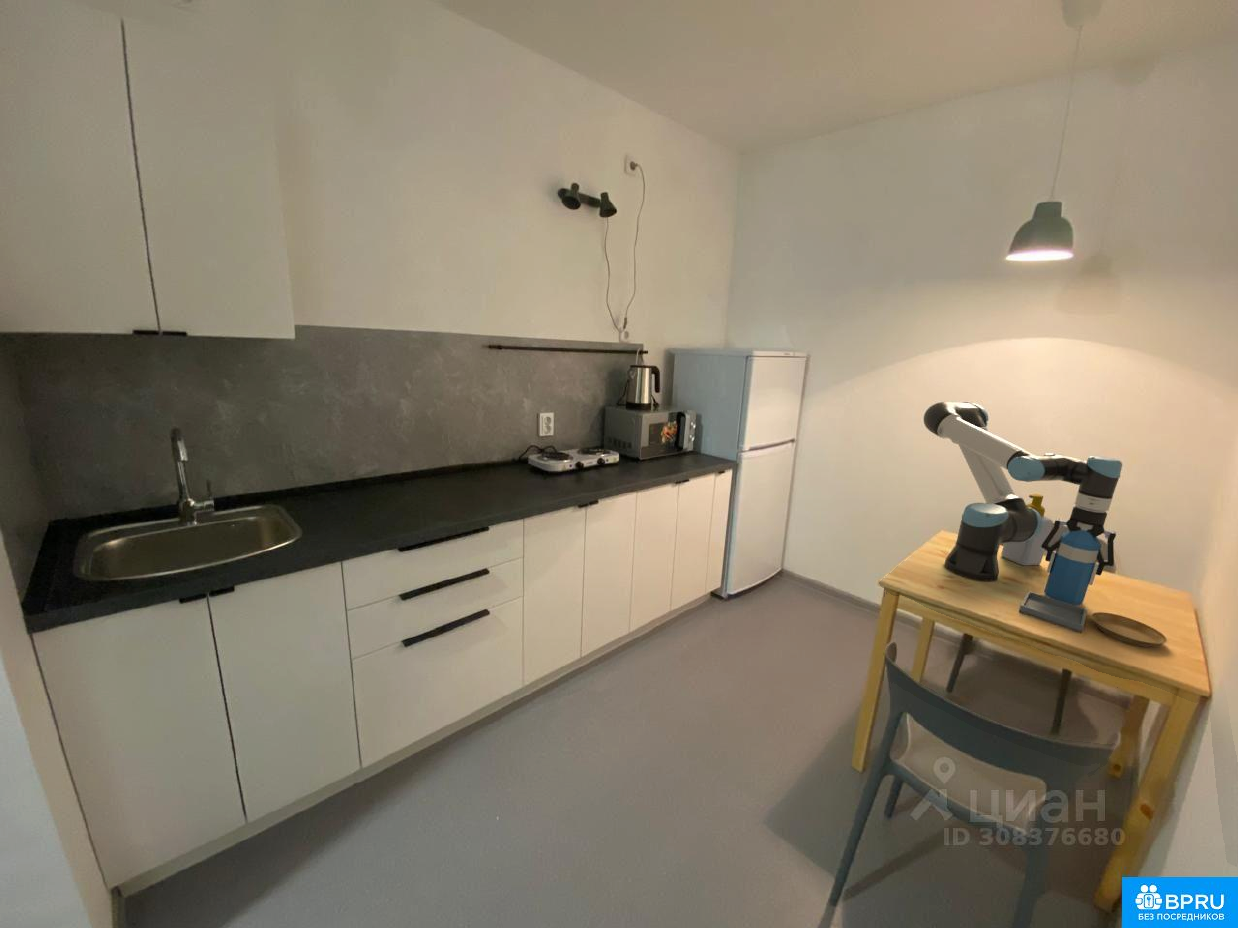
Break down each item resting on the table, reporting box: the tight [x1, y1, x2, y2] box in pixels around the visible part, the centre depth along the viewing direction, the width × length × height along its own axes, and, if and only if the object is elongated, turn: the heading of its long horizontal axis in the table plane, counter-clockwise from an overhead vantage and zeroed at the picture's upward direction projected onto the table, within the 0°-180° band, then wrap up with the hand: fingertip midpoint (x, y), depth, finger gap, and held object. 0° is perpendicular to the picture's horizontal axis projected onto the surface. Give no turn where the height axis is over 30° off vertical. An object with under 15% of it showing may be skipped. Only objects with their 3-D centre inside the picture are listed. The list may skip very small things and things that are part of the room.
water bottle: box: [1043, 522, 1102, 606], centre depth 151 cm, size 9×9×25 cm
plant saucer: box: [1090, 611, 1168, 648], centre depth 135 cm, size 15×15×3 cm
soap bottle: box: [1001, 493, 1054, 566], centre depth 178 cm, size 9×9×25 cm
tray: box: [1018, 590, 1088, 634], centre depth 144 cm, size 14×14×2 cm
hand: (1069, 577), depth 153 cm, fingers closed on water bottle, 9 cm apart
